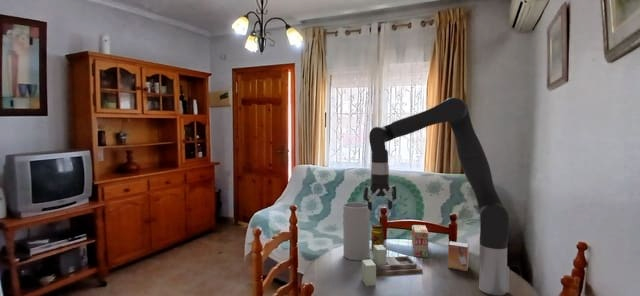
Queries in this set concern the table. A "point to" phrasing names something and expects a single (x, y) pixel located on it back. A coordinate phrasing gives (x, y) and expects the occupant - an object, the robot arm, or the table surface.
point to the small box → (458, 255)
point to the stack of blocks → (420, 240)
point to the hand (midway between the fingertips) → (379, 209)
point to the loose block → (368, 272)
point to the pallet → (400, 271)
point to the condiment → (377, 235)
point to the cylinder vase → (356, 231)
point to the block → (379, 255)
